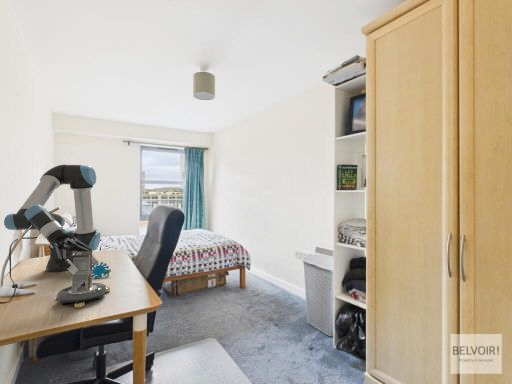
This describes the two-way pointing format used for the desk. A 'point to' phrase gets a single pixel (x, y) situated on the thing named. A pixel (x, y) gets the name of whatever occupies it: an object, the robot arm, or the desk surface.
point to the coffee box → (82, 271)
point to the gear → (100, 270)
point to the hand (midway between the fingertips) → (86, 268)
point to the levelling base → (82, 295)
